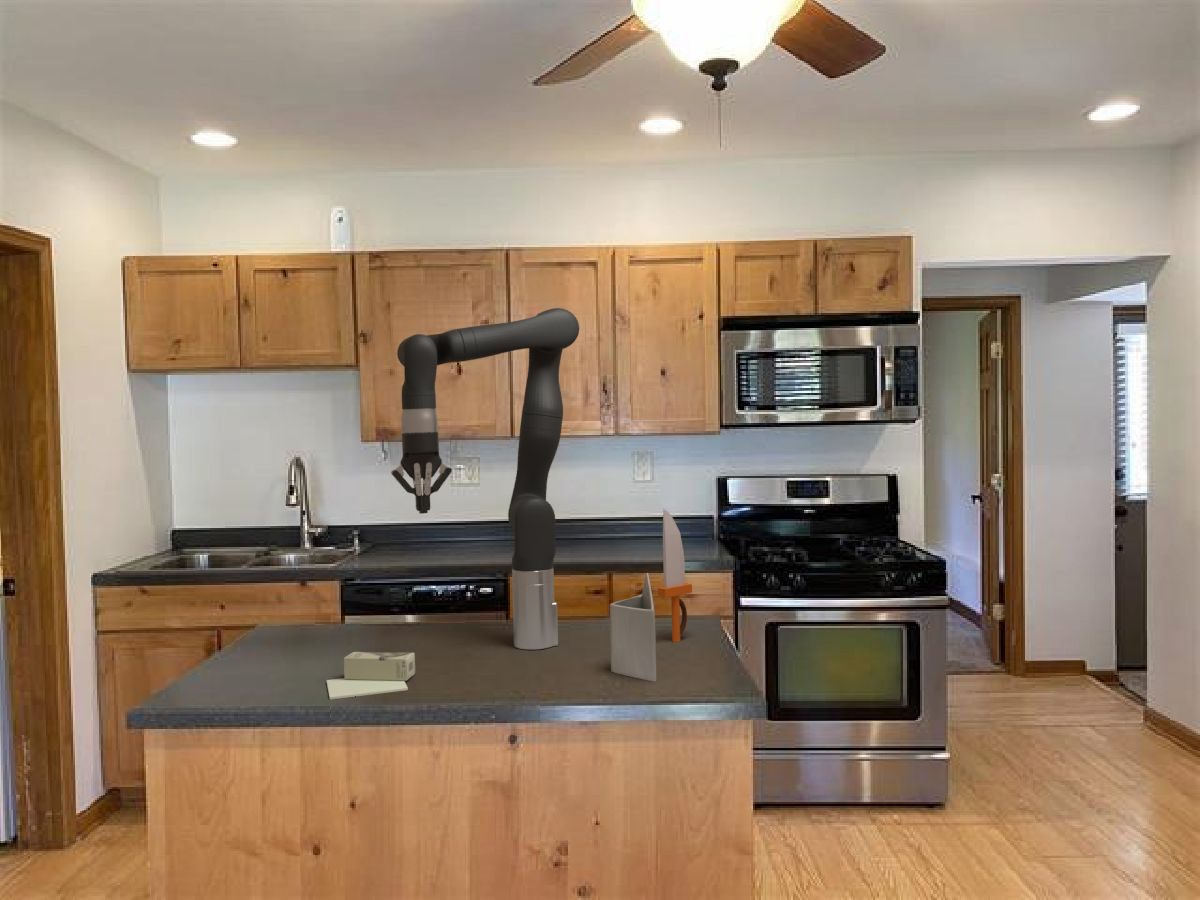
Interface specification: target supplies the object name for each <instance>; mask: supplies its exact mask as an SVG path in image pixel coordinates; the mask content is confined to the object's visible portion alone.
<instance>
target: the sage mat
mask: <svg viewBox="0 0 1200 900" xmlns="http://www.w3.org/2000/svg"><path fill="white" fill-rule="evenodd" d="M326 685H327V686H326V687H327V691H328V696H329V700H331V701H332V700H337V699H338V700H339V699H345V698H353V697H355V696H356V697H362V696H371V695H377V694H378V695H380V694H386V693H387V694H388V693H396V692H404V691H408V690H409V688H408V685H407V684H406V681H402V680H351V679H345V678H335V679H326Z"/></svg>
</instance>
